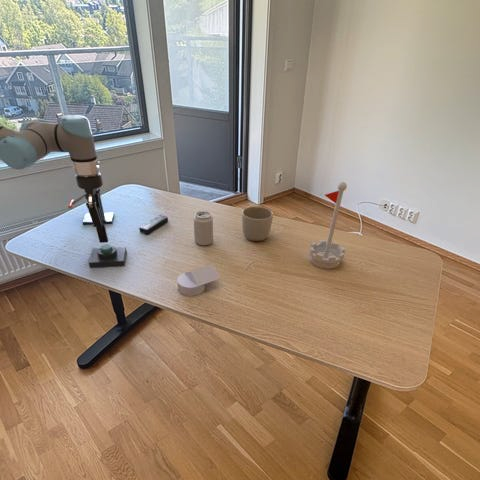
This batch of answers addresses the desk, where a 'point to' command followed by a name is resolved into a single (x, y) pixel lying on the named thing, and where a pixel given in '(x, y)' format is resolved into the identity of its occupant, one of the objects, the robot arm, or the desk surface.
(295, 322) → the desk surface
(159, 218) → the multiport hub
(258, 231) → the planter
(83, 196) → the lever
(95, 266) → the button box
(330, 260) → the flag stand
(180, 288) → the wedge on round base
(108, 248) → the button
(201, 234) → the can
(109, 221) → the bracket
